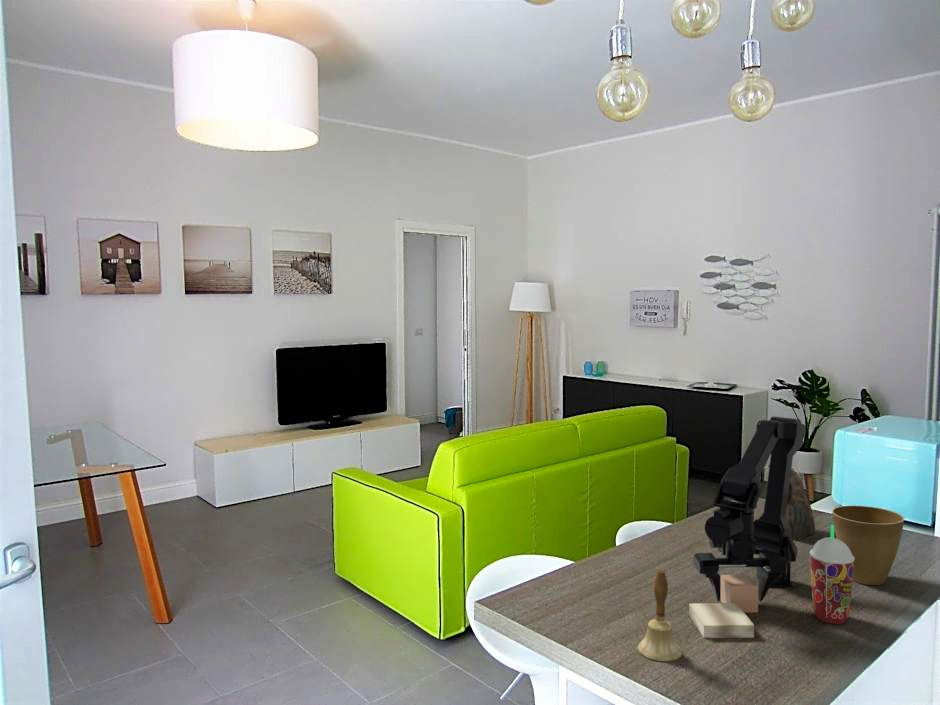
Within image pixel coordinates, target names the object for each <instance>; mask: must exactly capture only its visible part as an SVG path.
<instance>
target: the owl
mask: <svg viewBox="0 0 940 705" xmlns="http://www.w3.org/2000/svg"><path fill="white" fill-rule="evenodd" d="M769 466H770V463H769V464H768V466H767V467H768V468H769ZM786 519H787V522H788V524H789V526H790V528H791V538H792V540H793V541H799V540H801V539H805V537H808V536H811V535H813V534H815V533H816V530H815V529H816V523H815V518H814V514H813V509H812V506H811V504H810V500H809V498H808V495H807V492H806V489H805V486H804V484H803V480H802V478H801V477H800V476H799V475H798V473H797V472H796V471H795V469H793V467H791V475H790V483H789V492H788V500H787V508H786Z"/></svg>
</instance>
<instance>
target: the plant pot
mask: <svg viewBox="0 0 940 705" xmlns="http://www.w3.org/2000/svg"><path fill="white" fill-rule="evenodd" d="M831 514H832V520H833V525H834V534H835V536H836V537H835V538H836V539H839V540H841V541H843V542H844V543H845V544H846V545H847V546H848V547H849V549H850V550H851V553H852V555H853V556H854V557H855V559H854V567H853V577H852V582H853V581H854V582H855V583H859V584H862V585H867V586H881V585H883V584H885V583H886V580H887V578H888V576H889V574H890V572H891V570H892V567H893V565H894V562H895V559H896V557H897V554H898V549H899V546H900V543H901V539H902V535H903V530H904V523H905V517H904V516H903V515H902V514H901V513H899V512H896V511H892V510H890V509H886V508H882V507H875V506H866V505H840V506H836V507H834V508H833V509H832V510H831Z"/></svg>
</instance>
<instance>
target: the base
mask: <svg viewBox="0 0 940 705" xmlns="http://www.w3.org/2000/svg"><path fill="white" fill-rule="evenodd" d="M688 604H689V612H688V613H689V617H690V618H691V620H692V622H693V623H694V625H695V626H696V628H697V629H698V631H699V633H700V634H701V636H702V637H703V638H704V639H709V638H710V639H713V638H714V639H715V638H716V639H719V638H721V639H722V638H724V639H725V638H727V639H729V638H730V639H731V638H735V639H736V638H737V639H739V638H746V639H747V638H755V624H754V623H753V621H752V620H751V619H750V618H749V617H748V616H747V614H746V613H744V612H743V611H742V609H741V608H740V607H739V606H738V605H737V603H722V602H715V603H714V602H712V603H711V602H710V603H709V602H707V603H705V602H704V603H700V602H699V603H696V602H695V603H688Z"/></svg>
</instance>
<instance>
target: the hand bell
mask: <svg viewBox="0 0 940 705" xmlns="http://www.w3.org/2000/svg"><path fill="white" fill-rule="evenodd" d="M668 588H669V584H668V580H667V576H666V571H665V570H663V569H658V570H657V572H656V576H655V578H654V583H653V592H654V597H655V601H656V606H655V618H654V619H651V620H649V622H648V623H647V630H646V634H645V636H644V638H643V639H642V640H641V641H640V642H639V643H638V645H637V650H638V652H639V654H641V656H643V657H645V658H647V659H648V660H649V659H650V660H653V661H657V662H666V663H667V662H673V661H674V662H675V661H676V660H679V659H680V658H681V657H682V656H683V651H682V648H681V647H680V646H679V644H678V643H677V641H676V640H675V636H674V633H673V626H672V625H671V623H670V622H669V621H668V620H666V619H665V616H666V613H665V611H666V610H665V604H666V603H665V602H666V599H667V596H668V591H669V590H668Z"/></svg>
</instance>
